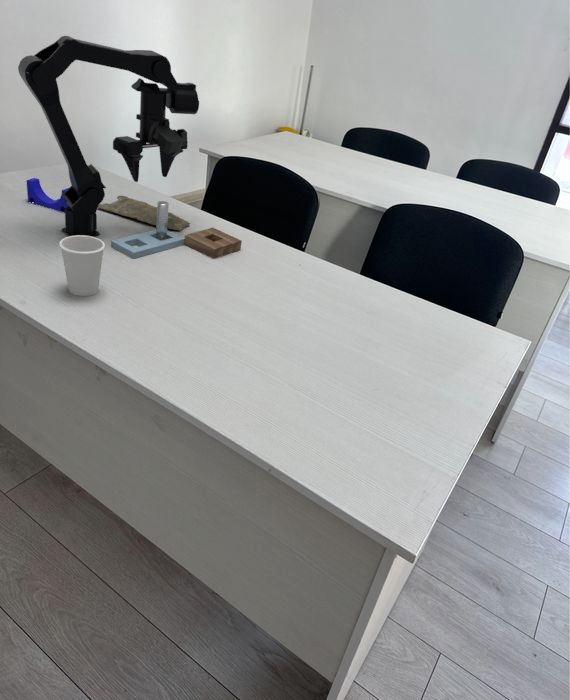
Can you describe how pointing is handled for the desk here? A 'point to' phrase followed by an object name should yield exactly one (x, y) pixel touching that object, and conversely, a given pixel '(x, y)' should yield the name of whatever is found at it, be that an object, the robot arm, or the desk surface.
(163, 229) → the grey cylindrical peg
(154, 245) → the block
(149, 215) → the stone tool
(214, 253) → the socket block
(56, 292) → the desk surface
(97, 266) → the dixie cup
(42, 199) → the blue semicircular cradle block
